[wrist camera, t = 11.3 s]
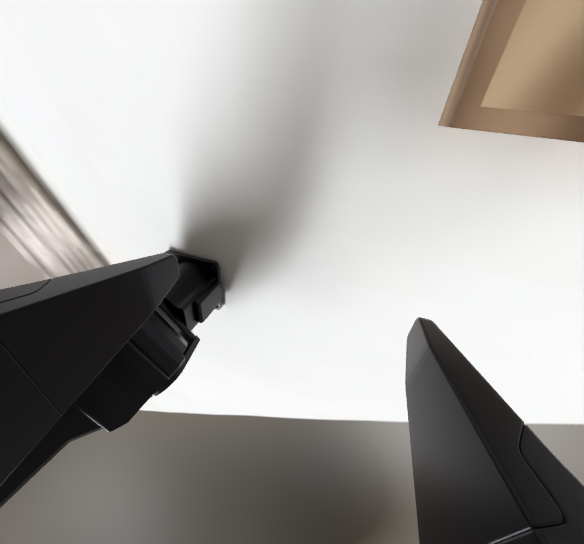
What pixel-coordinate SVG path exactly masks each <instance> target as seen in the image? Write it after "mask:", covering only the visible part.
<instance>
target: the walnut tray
mask: <svg viewBox="0 0 584 544" xmlns="http://www.w3.org/2000/svg"><path fill="white" fill-rule="evenodd" d="M438 125H439V126H445V127H453V128H461V129H470V130H479V131H488V132H497V133H506V134H514V135H523V136H532V137H541V138H550V139H558V140H567V141H576V142H584V0H483V2H482V5H481V8H480V11H479V13H478V16H477V19H476V22H475V24H474V27H473V30H472V33H471V36H470V38H469V41H468V44H467V47H466V49H465V52H464V55H463V58H462V60H461V63H460V66H459V69H458V72H457V74H456V77H455V80H454V83H453V85H452V88H451V91H450V94H449V96H448V99H447V102H446V105H445V108H444V110H443V113H442V116H441V119H440V121H439V124H438Z"/></svg>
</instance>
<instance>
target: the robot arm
mask: <svg viewBox="0 0 584 544" xmlns="http://www.w3.org/2000/svg"><path fill="white" fill-rule="evenodd" d="M213 266H214V267H213ZM221 307H222V288H221V282H220V272H219V265H218V263H216V262H214V261H210V260H206V259H202V258H198V257H194V256H190V255H186V254H182V253H178V252H174V251H170V250H168V251H166V252H165V253H162V254H157V255H153V256H148V257H144V258H140V259H135V260H131V261H126V262H122V263H118V264H113V265H109V266H105V267H100V268H96V269H91V270H87V271H83V272H78V273H74V274H70V275H65V276H61V277H56V278H53V279H47V280H43V281H39V282H34V283H30V284H25V285H20V286H16V287H11V288H6V289H1V290H0V507H1V506H2V505H4V504H5V503H6V502H7V501H8V500H9V499H10V498H11V497H12V496H13V495H14V494H15V493H16V492H17V491H18V490H19V489H20V488H21V487H22V486H23V485H25V484H26V483H27V482H28V481H29V480H30V479H31V478H32V477H33V476H34V475H35V474H36V473H37V472H38V471H39V470H40V469H41V468H42V467H43V466H45V465H46V464H47V463H48V462H49V461H50V460H51V459H52V458H53V457H54V456H55V455H56V454H57V453H58V452H59V451H60V450H61V449H62V448H63V447H65V446H66V445H67V444H68V443H69V442H71V441H73V440H75V439H78V438H80V437H82V436H85V435H88V434H90V433H92V432H95V431H98V430H100V429H102V428H104V429H105V430H106V431H108V432H110V431H113V430H115V429H117V428H119V427H121V426H122V425H124V424H126V423H127V422H129V421H130V419H131V418H132V417H133V416H134V415H135V414H136V413H137V411H138V410H139V409H140V408H141V407H142V406H143V405H144V404H145V403H146V402H147V400H148V399H149V398H150V397H155V396H157V395H159V394H160V393H162V392H163V391H164V390H165V389H167V388H168V387H169V386H170V385H171V384H172V383H173V382H174V381H175V380H176V379H177V378H178V376H179V375H180V374H181V373H182V371H183V369H184V368H185V366H186V364H187V362H188V361H189V359H190V357H191V355H192V353H193V352H194V350H195V348H196V346H197V344H198V343H199V341H200V339H199V338H198V337H197V336H195V335H194V334H193V333H192V332H191V330H192V329H193V328H194V327H195V326H196V325H197V324H198V322H199V323H202V322H204V321H205V319H206V318H207V317H208V316H209V315H210V314H211V312H212V311H213V310H214V309H217V310H219V309H220V308H221ZM405 384H406V398H407V409H408V420H409V430H410V443H411V453H412V465H413V475H414V487H415V499H416V510H417V521H418V532H419V543H420V544H584V485H582V483H580V481H579V480H578V479H577V478H576V477H574V475H573V474H572V473H571V472H570V471H569V470H568V469H567V468H566V467H565V466H564V465H563V464H562V463H561V462H560V461H559V460H558V459H557V458H556V456H555V455H554V454H553V453H552V452H551V451H550V450H549V449H548V448H547V447H546V446H545V445H544V444H543V443H542V441H541V440H540V439H539V438H538V437H537V436H536V435H535V434H534V433H533V431H532V430H531V429H530V428H529V427H528V426H527V425H524V422H523V421H522V419H521V418H520V417H519V416H518V415H517V414H516V413H515V412H514V411H513V410H512V408H511V407H510V406H509V405H508V404H507V403H506V402H505V401H504V400H503V398H502V397H501V396H500V395H499V394H498V393H497V392H496V391H495V390H494V389H493V387H492V386H491V385H490V384H489V383H488V382H487V381H486V380H485V379H484V377H483V376H482V375H481V374H480V373H479V372H478V371H477V370H476V369H475V368H474V366H473V365H472V364H471V363H470V362H469V361H468V360H467V359H466V358H465V356H464V355H463V354H462V353H461V352H460V351H459V350H458V349H457V348H456V346H455V345H454V344H453V343H452V342H451V341H450V340H449V339H448V338H447V337H446V335H445V334H444V333H443V332H442V331H441V330H440V329H439V328H438V327H437V325H436V324H435V323H434V322H433V321H431V320H428V319H424V318H420V317H419V318H417V319H416V321H415V323H414V325H413V326H412V328H411V330H410V332H409V334H408V337H407V350H406V379H405Z"/></svg>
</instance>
